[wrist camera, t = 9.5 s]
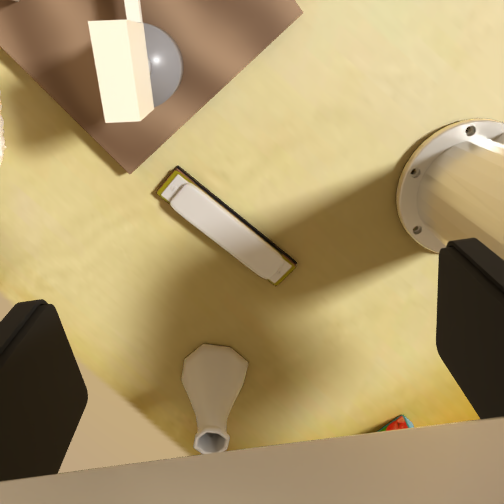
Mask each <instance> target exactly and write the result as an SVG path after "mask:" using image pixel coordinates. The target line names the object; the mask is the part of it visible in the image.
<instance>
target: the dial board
mask: <svg viewBox="0 0 504 504" xmlns="http://www.w3.org/2000/svg"><path fill="white" fill-rule="evenodd" d="M140 5H141V13H142V21H143V23H146V24H151V25H154V26H157V27H159V28H161V29H163V30H164V31H166V32H167V33H168V34H169V35H170V36H171V37H172V38H173V39H174V40H175V42H176V43H177V45H178V47H179V49H180V51H181V54H182V57H183V63H184V72H183V78H182V81H181V84H180V86H179V87H178V89H177V90H176V92H175V93H174V94H173V95H172V96H171V97H170V98H169V99H168V100H166V101H165V102H164V103H162V104H161V105H159V106H156V107H154V110H153V111H152V112H150V113H149V114H148V115H147V116H146V117H145V118H144V119H142V120H141V121H137V122H115V123H105V118H104V112H103V106H102V101H101V95H100V89H99V83H98V77H97V72H96V66H95V60H94V54H93V49H92V43H91V37H90V31H89V25H88V21H103V20H127V17H126V10H125V3H124V0H0V47H1V48H2V49H4V50H5V51H6V52H7V53H8V54H9V55H10V56H11V57H12V58H13V59H14V60H15V61H16V62H17V63H18V64H19V65H20V66H21V67H22V68H23V69H24V70H25V71H26V72H27V73H28V74H29V75H30V76H31V77H32V78H33V79H34V80H35V81H36V82H37V83H38V84H39V85H40V86H41V87H42V88H43V89H44V90H45V91H46V92H47V93H48V94H49V95H50V96H51V97H52V98H53V99H54V100H55V101H56V102H57V103H58V104H59V105H60V106H61V107H62V108H63V109H64V110H65V111H66V112H67V113H68V114H69V115H70V116H71V117H72V118H73V119H74V120H75V121H76V122H77V123H78V124H79V125H80V126H81V127H82V128H83V129H84V130H86V131H87V132H88V133H89V134H90V135H91V136H92V137H93V138H94V139H95V140H96V141H97V142H98V143H99V144H100V145H101V146H102V147H103V148H104V149H105V150H106V151H107V152H108V153H109V154H110V155H111V156H112V157H113V158H114V159H115V160H116V161H117V162H118V163H119V164H120V165H121V166H122V167H123V168H124V169H125V170H126V171H127V172H128V173H129V174H131V173H132V172H133V171H134V170H135V169H137V168H138V167H139V166H140V165H141V164H142V163H143V162H144V161H145V160H146V159H147V158H148V157H149V156H150V155H152V154H153V153H154V152H155V151H156V150H157V149H158V148H159V147H160V146H161V145H162V144H163V143H164V142H165V141H167V140H168V139H169V138H170V137H171V136H172V135H173V134H174V133H175V132H176V131H177V130H178V129H179V128H180V127H182V126H183V125H184V124H185V123H186V122H187V121H188V120H189V119H190V118H191V117H192V116H193V115H194V114H195V113H197V112H198V111H199V110H200V109H201V108H202V107H203V106H204V105H205V104H206V103H207V102H208V101H209V100H210V99H212V98H213V97H214V96H215V95H216V94H217V93H218V92H219V91H220V90H221V89H222V88H223V87H224V86H225V85H226V84H228V83H229V82H230V81H231V80H232V79H233V78H234V77H235V76H236V75H237V74H238V73H239V72H240V71H241V70H243V69H244V68H245V67H246V66H247V65H248V64H249V63H250V62H251V61H252V60H253V59H254V58H255V57H256V56H258V55H259V54H260V53H261V52H262V51H263V50H264V49H265V48H266V47H267V46H268V45H269V44H270V43H271V42H273V41H274V40H275V39H276V38H277V37H278V36H279V35H280V34H281V33H282V32H283V31H284V30H285V29H286V28H288V27H289V26H290V25H291V24H292V23H293V22H294V21H295V20H296V19H297V18H298V17H299V16H300V15H301V14H303V11H302V10H301V9H300V7H299V6H298V4H297V3H296V1H295V0H140Z"/></svg>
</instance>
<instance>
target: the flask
mask: <svg viewBox="0 0 504 504" xmlns="http://www.w3.org/2000/svg"><path fill="white" fill-rule="evenodd" d="M247 368H248V362H247V361H246V360H245V359H244V358H243V357H241V356H240V355H239V354H238V353H237V352H235V351H234V350H233V349H232V348H231V347H225V346H217V345H210V344H203V345H201V346H200V347H199V348H198V349H196V350H195V351H194V352H193V353H191V354H190V355H189V356H188V357H186V358H185V359H184V365H183V371H182V377H181V381H182V384H183V386H184V388H185V390H186V393H187V395H188V397H189V399H190V402H191V405H192V407H193V410H194V412H195V415H196V420H197V427H198V432H197V433H196V435H195V440H194V445H193V448H194V449H196V450H197V451H198V452H200V453H201V454H209V453H217V452H224V451H225V450H227V448H228V444H229V440H230V436H229V434H227V432H226V428H227V419H228V416H229V413H230V411H231V409H232V407H233V404H234V402H235V400H236V398H237V396H238V394H239V392H240V390H241V388H242V386H243V384H244V380H245V376H246V372H247Z"/></svg>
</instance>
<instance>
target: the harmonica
mask: <svg viewBox="0 0 504 504" xmlns="http://www.w3.org/2000/svg"><path fill="white" fill-rule="evenodd" d="M156 194H157V195H159V196H160V197H161V198H162V199H164V200H165V201H166V202H168V203H169V204H170V205H171V207H172V208H173V209H174V210H175V211H176V212H177V213H178V214H180V215H181V216H182V217H183V218H185V219H186V220H187V221H188V222H190V223H191V224H192V225H194V226H195V227H196V228H198V229H199V230H200V231H201V232H203V233H204V234H205V235H207V236H208V237H209V238H210V239H212V240H213V241H214V242H216V243H217V244H218V245H220V246H221V247H222V248H223V249H225V250H226V251H227V252H229V253H230V254H231V255H232V256H234V257H235V258H236V259H238V260H239V261H240V262H242V263H243V264H244V265H245V266H247V267H248V268H249V269H251V270H252V271H253V272H255V273H256V274H257V275H259V276H260V277H262V278H264V279H267V280H268V281H269V282H271V283H272V284H273V285H275V286H278V285H279V284H280V283H281V282H282V281H283V280H284V279H285V278H286V277H287V276H288V275H289V274H290V273H291V272H292V271H293V270H294V269H295V268H296V264H297V262H296V261H295V260H294V259H292V258H291V257H290V256H289V255H287V254H286V253H285V252H284V251H283V250H281V249H280V248H279V247H278V246H276V245H275V244H274V243H273V242H272V241H270V240H269V239H268V238H267V237H265V236H264V235H263V234H262V233H261V232H259V231H258V230H257V229H256V228H254V227H253V226H252V225H251V224H249V223H248V222H247V221H246V220H245V219H243V218H242V217H241V216H240V215H238V214H237V213H236V212H235V211H234V210H232V209H231V208H230V207H229V206H227V205H226V204H225V203H224V202H222V201H221V200H220V199H219V198H218V197H216V196H215V195H214V194H213V193H211V192H210V191H209V190H208V189H207V188H205V187H204V186H203V185H202V184H200V183H199V182H198V181H197V180H196V179H194V178H193V177H192V176H191V175H189V174H188V173H187V172H186V171H184V170H183V169H182V168H181V167H179V166H177V167H176V168H175V169H174V171H173V172H172V173H171V174H170V176H169V177H168V178H167V179H166V180H165V182H164V183H163V184H162V185H161V186H160V188H159V189H158V190H157V192H156Z"/></svg>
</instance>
